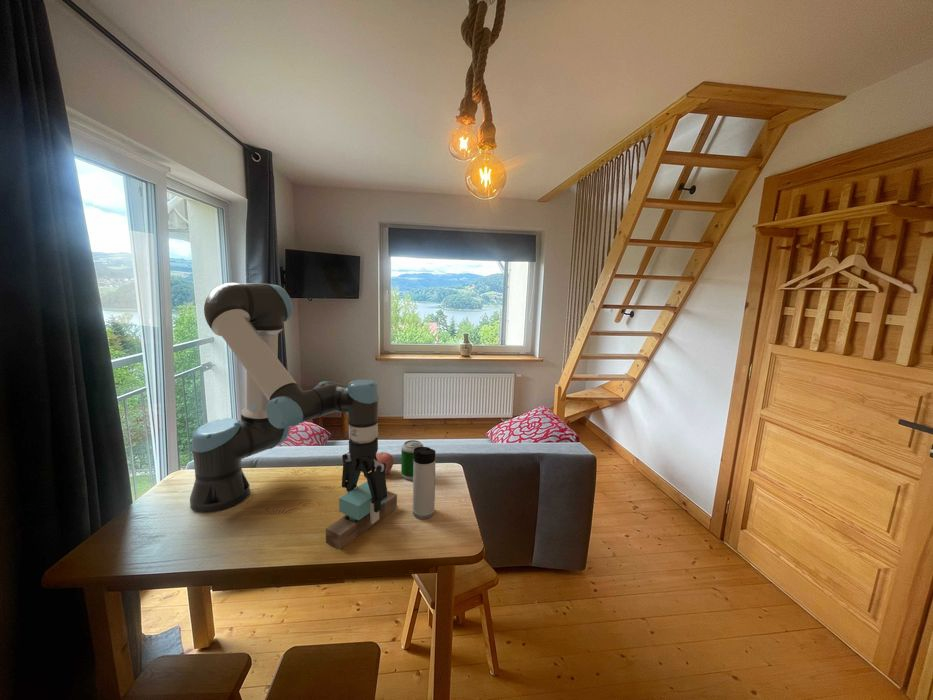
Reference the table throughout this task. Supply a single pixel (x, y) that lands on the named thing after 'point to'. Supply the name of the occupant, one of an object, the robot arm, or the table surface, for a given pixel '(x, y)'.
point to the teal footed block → (356, 502)
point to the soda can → (408, 458)
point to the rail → (356, 525)
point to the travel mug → (423, 482)
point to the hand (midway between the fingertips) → (364, 516)
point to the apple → (385, 460)
